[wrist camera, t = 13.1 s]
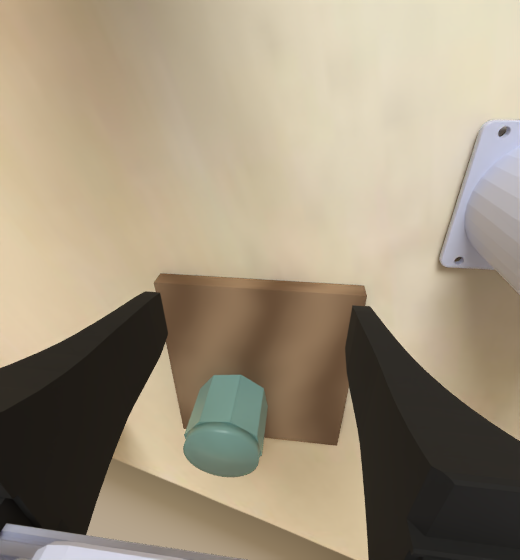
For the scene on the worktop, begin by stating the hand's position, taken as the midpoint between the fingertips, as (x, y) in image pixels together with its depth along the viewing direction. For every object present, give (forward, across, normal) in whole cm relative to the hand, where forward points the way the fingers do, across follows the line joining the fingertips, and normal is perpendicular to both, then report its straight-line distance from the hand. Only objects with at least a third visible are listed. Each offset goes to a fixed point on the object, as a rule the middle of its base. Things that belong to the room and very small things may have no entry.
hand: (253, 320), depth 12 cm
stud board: (+9, +1, +12) cm, 15 cm away
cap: (+8, +3, +15) cm, 17 cm away
